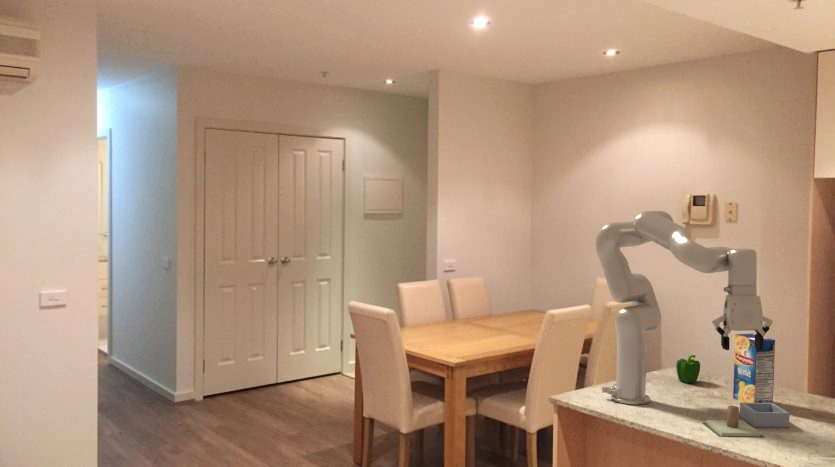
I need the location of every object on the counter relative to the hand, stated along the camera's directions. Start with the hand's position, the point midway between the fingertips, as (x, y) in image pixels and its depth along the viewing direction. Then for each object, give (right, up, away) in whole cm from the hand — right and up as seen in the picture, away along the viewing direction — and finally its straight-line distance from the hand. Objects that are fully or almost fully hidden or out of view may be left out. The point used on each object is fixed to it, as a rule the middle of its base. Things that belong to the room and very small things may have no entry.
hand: (742, 349), depth 205 cm
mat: (-3, -24, -1) cm, 24 cm away
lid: (-3, -23, -1) cm, 24 cm away
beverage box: (+16, -23, +28) cm, 40 cm away
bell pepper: (+5, -21, +53) cm, 57 cm away
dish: (+9, -24, +6) cm, 26 cm away
